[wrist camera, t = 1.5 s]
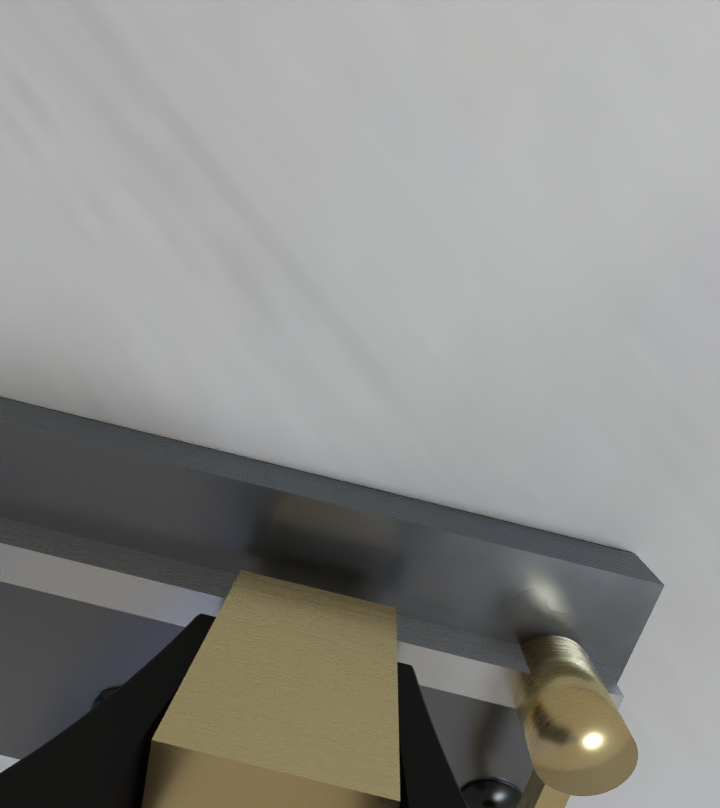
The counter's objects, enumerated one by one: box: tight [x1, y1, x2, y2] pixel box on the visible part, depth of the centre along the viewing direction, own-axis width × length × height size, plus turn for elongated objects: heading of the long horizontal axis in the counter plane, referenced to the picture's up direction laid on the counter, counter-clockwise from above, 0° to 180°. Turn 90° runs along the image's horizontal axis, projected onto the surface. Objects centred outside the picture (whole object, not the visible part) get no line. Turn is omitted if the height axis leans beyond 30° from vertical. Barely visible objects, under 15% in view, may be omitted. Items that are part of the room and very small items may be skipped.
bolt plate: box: [0, 397, 664, 808], centre depth 13 cm, size 12×20×4 cm, turn 77°
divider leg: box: [141, 570, 400, 808], centre depth 11 cm, size 8×4×5 cm, turn 167°
